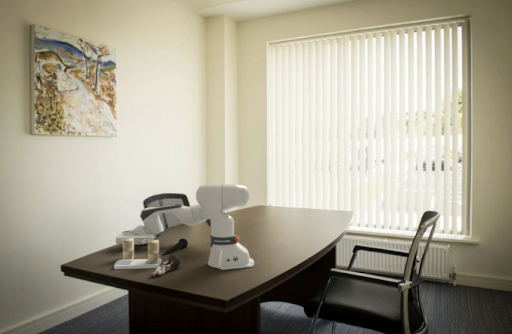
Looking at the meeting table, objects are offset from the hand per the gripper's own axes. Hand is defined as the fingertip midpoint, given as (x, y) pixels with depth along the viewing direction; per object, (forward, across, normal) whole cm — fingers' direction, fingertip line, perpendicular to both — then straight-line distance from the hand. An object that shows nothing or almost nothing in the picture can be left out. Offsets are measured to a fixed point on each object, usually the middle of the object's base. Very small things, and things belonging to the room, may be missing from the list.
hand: (132, 242), depth 199 cm
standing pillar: (+22, -14, -4) cm, 26 cm away
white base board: (+22, -7, -5) cm, 24 cm away
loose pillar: (+11, 0, -5) cm, 12 cm away
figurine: (+33, -20, -6) cm, 39 cm away
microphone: (-3, -22, -6) cm, 22 cm away
